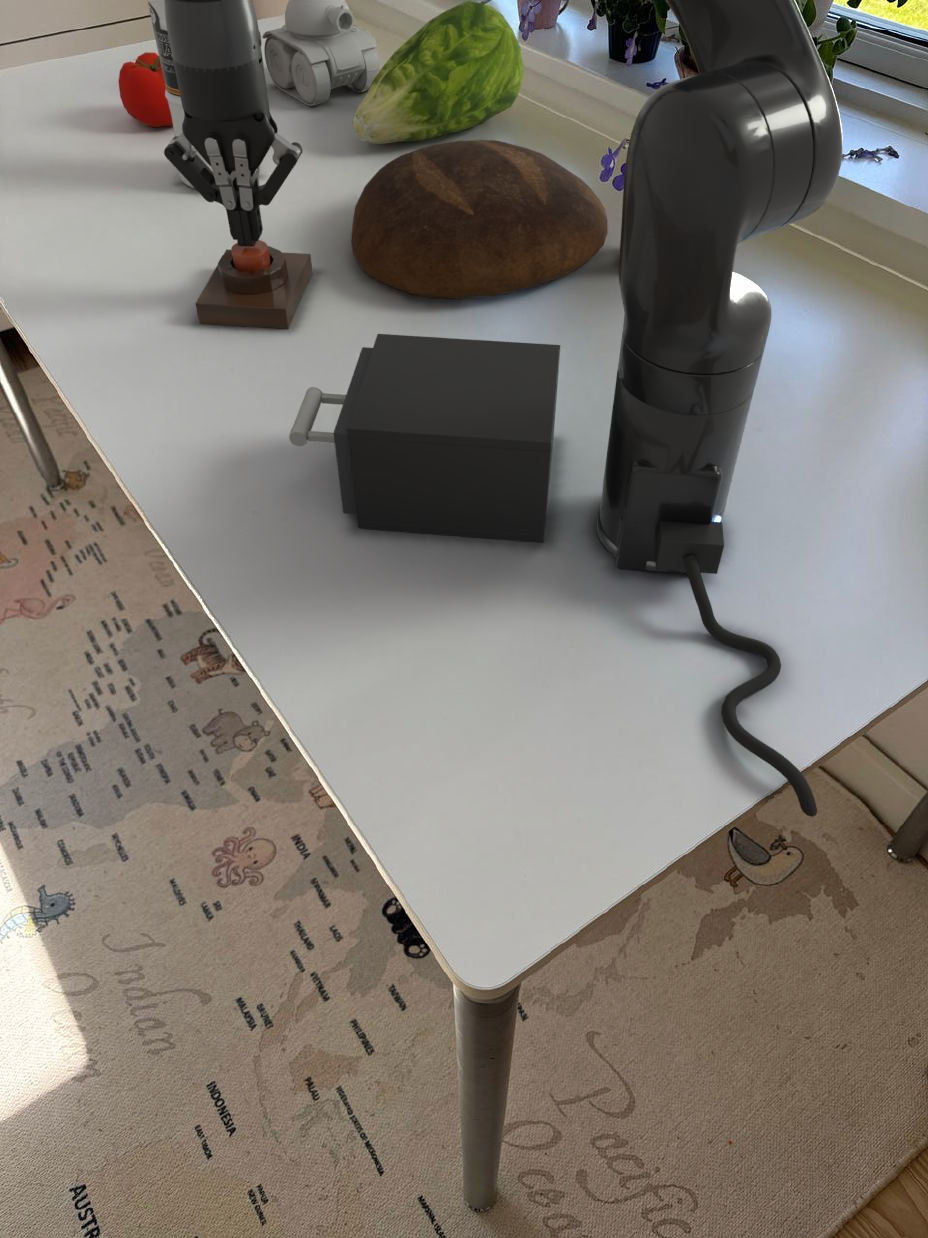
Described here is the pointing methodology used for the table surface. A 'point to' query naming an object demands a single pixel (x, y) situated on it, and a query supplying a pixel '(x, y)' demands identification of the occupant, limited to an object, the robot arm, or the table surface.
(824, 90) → the robot arm
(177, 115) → the vodka
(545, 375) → the cabinet
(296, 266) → the brown button base
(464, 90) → the lettuce
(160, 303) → the table surface
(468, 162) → the bread
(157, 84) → the red bell pepper
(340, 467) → the drawer
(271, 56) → the toy tank
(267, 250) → the button
